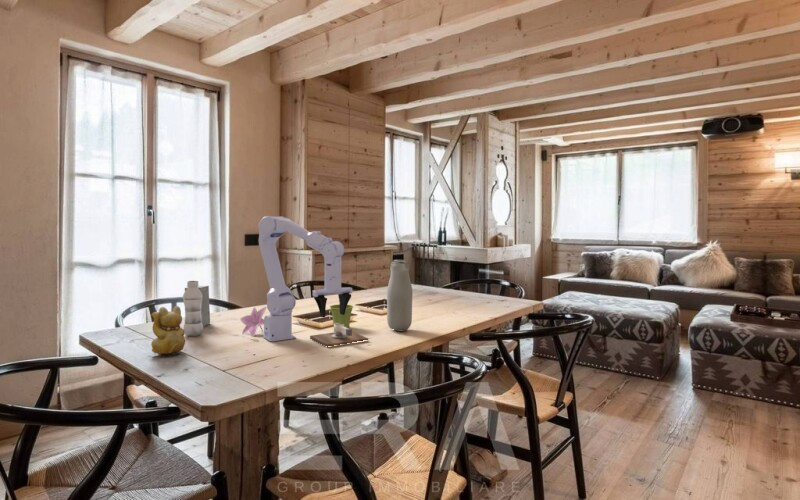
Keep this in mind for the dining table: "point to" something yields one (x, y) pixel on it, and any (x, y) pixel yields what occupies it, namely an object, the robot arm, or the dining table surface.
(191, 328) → the plastic bottle
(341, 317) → the plant pot
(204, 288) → the skincare box
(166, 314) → the decorative figurine
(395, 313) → the grey water bottle
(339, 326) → the gray-tipped lever post
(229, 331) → the dining table surface
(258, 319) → the lily
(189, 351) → the dining table surface
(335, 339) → the brown rectangular board
